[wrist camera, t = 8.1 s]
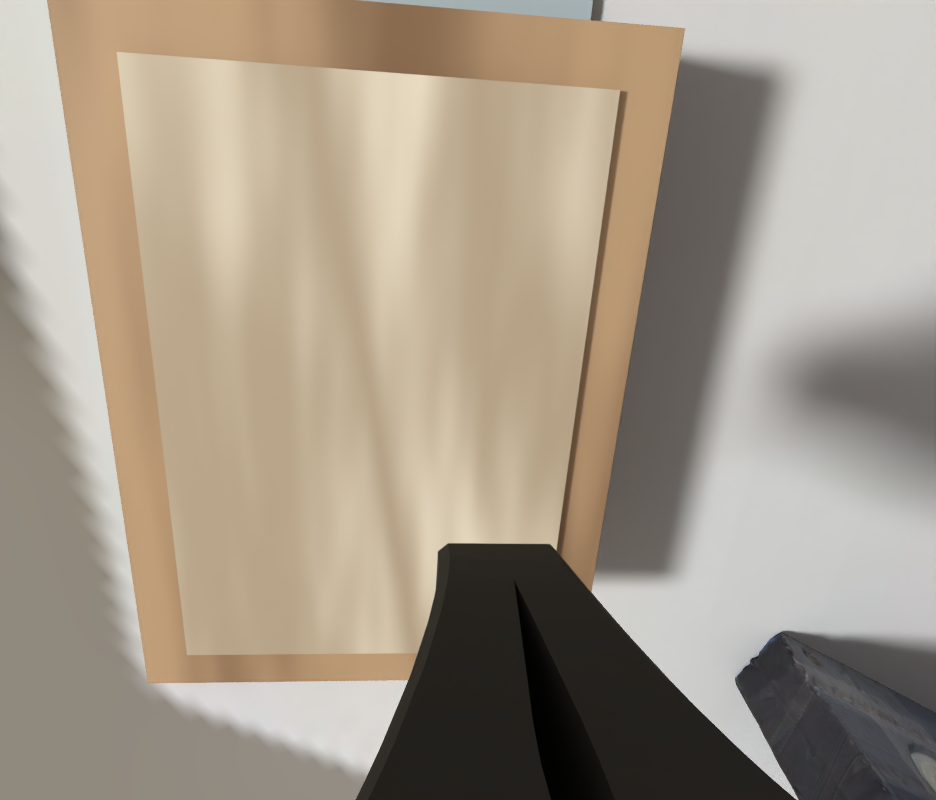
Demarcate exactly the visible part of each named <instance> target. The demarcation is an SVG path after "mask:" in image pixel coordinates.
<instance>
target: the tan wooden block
mask: <svg viewBox="0 0 936 800" xmlns="http://www.w3.org/2000/svg"><path fill="white" fill-rule="evenodd" d="M47 2H48V9H49V16H50V22H51V29H52V36H53V43H54V49H55V56H56V63H57V70H58V77H59V83H60V90H61V97H62V104H63V110H64V117H65V124H66V131H67V138H68V144H69V151H70V158H71V165H72V171H73V178H74V185H75V192H76V199H77V205H78V212H79V219H80V226H81V232H82V239H83V246H84V253H85V260H86V266H87V273H88V280H89V287H90V293H91V300H92V307H93V314H94V321H95V327H96V334H97V341H98V348H99V354H100V361H101V368H102V375H103V382H104V388H105V395H106V402H107V409H108V415H109V422H110V429H111V436H112V443H113V449H114V456H115V463H116V470H117V476H118V483H119V490H120V497H121V504H122V510H123V517H124V524H125V531H126V537H127V544H128V551H129V558H130V564H131V571H132V578H133V585H134V592H135V598H136V605H137V612H138V619H139V625H140V632H141V639H142V646H143V653H144V659H145V666H146V673H147V680H148V683H206V682H286V681H367V680H409V677H410V675H411V672H412V669H413V666H414V663H415V660H416V657H417V654H418V651H419V648H420V645H421V642H422V639H423V636H424V632H425V629H426V626H427V623H428V620H429V616H430V612H431V608H432V604H433V600H434V596H435V591H436V575H437V558H438V551H439V550H440V549H442V548H443V547H444V546H445V545H447V544H448V543H486V544H551V545H552V547H553V548H554V549H555V550H556V551H557V552H558V553H559V554H560V556H561V557H562V558H563V559H564V560H565V561H566V563H567V564H568V565H569V566H570V567H571V569H572V570H573V571H574V572H575V573H576V575H577V576H578V577H579V578H580V579H581V581H582V582H583V583H584V584H585V585H586V587H587V588H588V589H589V590H590V591H591V590H592V584H593V578H594V572H595V566H596V560H597V554H598V548H599V542H600V536H601V530H602V524H603V518H604V512H605V506H606V500H607V494H608V488H609V482H610V476H611V470H612V464H613V458H614V452H615V446H616V440H617V434H618V428H619V422H620V416H621V410H622V404H623V398H624V392H625V386H626V380H627V374H628V368H629V362H630V356H631V350H632V344H633V338H634V332H635V326H636V320H637V314H638V308H639V302H640V296H641V290H642V284H643V278H644V272H645V266H646V260H647V254H648V248H649V242H650V236H651V230H652V224H653V218H654V212H655V206H656V200H657V194H658V188H659V182H660V176H661V170H662V164H663V158H664V152H665V146H666V140H667V134H668V128H669V122H670V116H671V110H672V104H673V98H674V92H675V86H676V80H677V74H678V68H679V62H680V56H681V50H682V44H683V37H684V31H685V28H674V27H663V26H651V25H639V24H628V23H616V22H605V21H593V20H581V19H570V18H558V17H547V16H535V15H523V14H512V13H500V12H488V11H477V10H465V9H454V8H442V7H430V6H419V5H407V4H396V3H384V2H372V1H361V0H47Z"/></svg>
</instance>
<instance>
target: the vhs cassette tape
mask: <svg viewBox="0 0 936 800" xmlns="http://www.w3.org/2000/svg"><path fill="white" fill-rule="evenodd" d="M735 681H736V685H737V687H738V689H739V691H740V693H741V694H742V696H743V698H744V700H745V702H746V704H747V705H748V707H749V709H750V711H751V712H752V714H753V716H754V718H755V719H756V721H757V723H758V724H759V726H760V729H761V731H762V733H763V735H764V737H765V739H766V740H767V742H768V744H769V746H770V747H771V750H772V752H773V754H774V756H775V758H776V760H777V762H778V764H779V766H780V767H781V769H782V771H783V772H784V774H785V776H786V777H787V779H788V781H789V783H790V784H791V786H792V788H793V790H794V792H795V794H796V796H797V797H798V799H799V800H936V713H934V712H933V711H931V710H929V709H927V708H925V707H923V706H921V705H919V704H918V703H916V702H914V701H912V700H910V699H908V698H906V697H904V696H902V695H900V694H898V693H897V692H895V691H893V690H891V689H889V688H887V687H885V686H883V685H881V684H880V683H878V682H876V681H874V680H872V679H870V678H868V677H866V676H864V675H862V674H860V673H858V672H857V671H855V670H853V669H851V668H849V667H847V666H845V665H843V664H841V663H839V662H837V661H835V660H833V659H831V658H830V657H828V656H826V655H824V654H822V653H820V652H818V651H816V650H814V649H812V648H810V647H808V646H806V645H804V644H802V643H800V642H798V641H796V640H794V639H793V638H791V637H789V636H787V635H785V634H783V633H781V634H779V635H777V636H775V637H774V638H772V639H770V640H769V641H768V643H767V644H766V645H765V646H764V648H763V649H762V650H761V651H760V653H759V656H758V658H756V659H753V660H750V664H749V665H748V666H747V667H746V668H744V669H743V670H742V671H741V672H740V674H739V675H738V676H737V677H736V678H735Z"/></svg>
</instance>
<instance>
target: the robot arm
mask: <svg viewBox="0 0 936 800" xmlns="http://www.w3.org/2000/svg"><path fill="white" fill-rule="evenodd" d="M356 800H796V799H795V798H794V797H792V796H791V795H790V794H789V793H788V792H787V791H785V790H784V789H783V788H782V787H781V786H779V785H778V784H777V783H776V782H775V781H774V780H773V779H771V778H770V777H769V776H768V775H767V774H766V773H765V772H764V771H763V770H762V769H760V768H759V767H758V766H757V765H756V764H755V763H754V762H753V761H752V760H750V759H749V758H748V757H747V756H746V755H745V754H744V753H743V752H742V751H741V750H740V749H739V748H737V747H736V746H735V745H734V744H733V743H732V742H731V741H730V740H729V739H728V738H727V737H726V736H725V735H724V734H723V733H722V732H721V731H720V730H719V729H718V728H717V727H716V726H715V725H714V724H713V723H712V722H711V721H710V720H709V719H708V718H707V717H706V716H705V715H704V714H702V713H701V712H700V711H699V710H698V709H697V708H696V707H695V706H694V705H693V704H692V703H691V702H690V701H689V700H688V699H687V697H686V696H685V695H684V694H683V693H682V692H681V691H680V690H679V689H678V688H677V687H676V686H675V685H674V684H673V683H672V682H671V681H670V680H669V679H668V678H667V677H666V676H665V674H664V673H663V672H662V671H661V670H660V669H659V668H658V667H657V666H656V665H655V664H654V663H653V661H652V660H651V659H650V658H649V657H648V656H647V655H646V654H645V653H644V652H643V651H642V650H641V648H640V647H639V646H638V645H637V644H636V643H635V642H634V641H633V640H632V639H631V638H630V636H629V635H628V634H627V633H626V632H625V631H624V630H623V629H622V627H621V626H620V625H619V624H618V623H617V622H616V621H615V619H614V618H613V617H612V616H611V615H610V614H609V612H608V611H607V610H606V609H605V608H604V607H603V605H602V604H601V603H600V602H599V601H598V600H597V598H596V597H595V596H594V595H593V594H592V593H591V591H590V590H589V589H588V588H587V587H586V585H585V584H584V583H583V582H582V581H581V579H580V578H579V577H578V576H577V575H576V573H575V572H574V571H573V570H572V569H571V567H570V566H569V565H568V564H567V563H566V561H565V560H564V559H563V558H562V557H561V556H560V554H559V553H558V552H557V551H556V550H555V549H554V548H553V547H552V545H551V544H486V543H448V544H447V545H445V546H444V547H443V548H442V549H440V550H439V551H438V558H437V575H436V591H435V596H434V600H433V604H432V608H431V612H430V616H429V620H428V623H427V626H426V629H425V632H424V636H423V639H422V642H421V645H420V648H419V651H418V654H417V657H416V660H415V663H414V666H413V669H412V672H411V675H410V677H409V680H408V683H407V685H406V688H405V690H404V692H403V695H402V697H401V700H400V702H399V704H398V707H397V709H396V712H395V714H394V716H393V719H392V721H391V724H390V726H389V728H388V731H387V733H386V736H385V738H384V740H383V743H382V745H381V747H380V750H379V752H378V754H377V756H376V758H375V760H374V763H373V765H372V767H371V769H370V771H369V773H368V775H367V778H366V780H365V782H364V784H363V786H362V788H361V790H360V792H359V794H358V796H357V799H356Z"/></svg>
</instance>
